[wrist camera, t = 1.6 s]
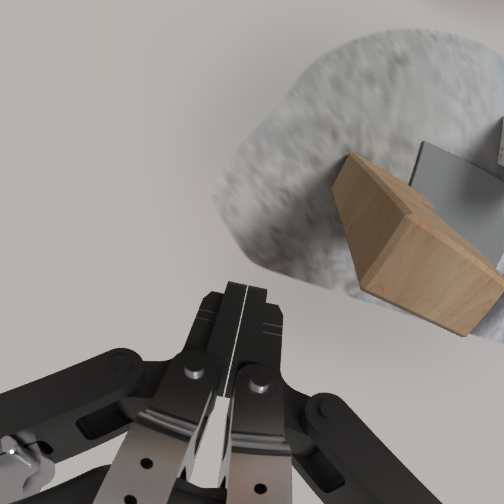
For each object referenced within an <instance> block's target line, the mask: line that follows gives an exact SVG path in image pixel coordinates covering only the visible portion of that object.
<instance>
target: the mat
mask: <svg viewBox="0 0 504 504" xmlns="http://www.w3.org/2000/svg"><path fill="white" fill-rule="evenodd" d="M410 187H411V188H413V189H414V190H416V191H417V192H419V193H420V194H422V195H423V196H424V197H425V198H426V199H427V200H429V201H430V202H431V203H432V204H433V205H434V206H435V210H434V212H433V213H434V214H436V215H437V216H438V217H439V218H440V219H442V220H443V221H444V222H445V223H446V224H448V225H449V226H450V227H451V228H452V229H454V230H455V231H456V232H457V233H458V234H460V235H461V236H462V237H463V238H464V239H465V240H467V241H468V242H469V243H470V244H472V245H473V246H474V247H475V248H476V249H478V250H479V251H480V252H481V253H482V254H483V255H484V256H485V257H486V258H487V259H488V260H489V262H490V263H491V264H492V265H493V266H494V267H495V268H496V267H497V265H498V263H499V261H500V259H501V257H502V255H503V253H504V182H503V181H502V180H500V179H498V178H496V177H495V176H493V175H491V174H490V173H488V172H486V171H484V170H482V169H481V168H479V167H477V166H475V165H473V164H471V163H469V162H467V161H465V160H463V159H461V158H459V157H457V156H455V155H453V154H451V153H449V152H447V151H445V150H443V149H441V148H438V147H436V146H434V145H432V144H429V143H427V142H425V141H423V144H422V148H421V151H420V155H419V158H418V162H417V165H416V168H415V171H414V174H413V178H412V181H411V184H410Z"/></svg>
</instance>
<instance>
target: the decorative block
mask: <svg viewBox="0 0 504 504" xmlns="http://www.w3.org/2000/svg"><path fill="white" fill-rule="evenodd" d="M331 191H332V194H333V197H334V200H335V203H336V206H337V210H338V213H339V216H340V219H341V222H342V225H343V228H344V232H345V235H346V238H347V242H348V245H349V249H350V252H351V256H352V259H353V263H354V266H355V270H356V274H357V278H358V281H359V285H360V289H361V290H362V291H364V292H366V293H368V294H370V295H373V296H375V297H377V298H379V299H381V300H383V301H386V302H388V303H390V304H392V305H394V306H396V307H398V308H401V309H403V310H405V311H407V312H409V313H411V314H413V315H416V316H418V317H420V318H422V319H424V320H426V321H428V322H431V323H433V324H435V325H437V326H439V327H441V328H444V329H446V330H448V331H450V332H452V333H454V334H456V335H459V336H461V337H466V336H467V335H468V334H469V333H470V332H471V331H472V330H473V328H474V327H475V326H476V325H477V324H478V323H479V322H480V321H481V319H482V318H483V317H484V316H485V315H486V314H487V312H488V311H489V310H490V309H491V307H492V306H493V305H494V304H495V303H496V301H497V300H498V299H499V297H500V296H501V295H502V294H503V292H504V278H503V277H502V276H501V274H500V273H499V272H498V271H497V270H496V268H495V267H494V266H493V265H492V264H491V263H490V262H489V260H488V259H487V258H486V257H485V256H484V255H483V254H482V253H481V252H480V251H479V250H478V249H476V248H475V247H474V246H473V245H472V244H470V243H469V242H468V241H467V240H465V239H464V238H463V237H462V236H461V235H460V234H458V233H457V232H456V231H455V230H454V229H452V228H451V227H450V226H449V225H448V224H446V223H445V222H444V221H443V220H442V219H440V218H439V217H438V216H437V215H436V214H434V213H433V212H434V210H435V206H434V205H433V204H432V203H431V202H430V201H429V200H427V199H426V198H425V197H424V196H423V195H422V194H420V193H419V192H417V191H416V190H414V189H413V188H411V187H410V186H408V185H407V184H405V183H404V182H402V181H401V180H399V179H397V178H396V177H394V176H393V175H391V174H389V173H388V172H386V171H384V170H383V169H381V168H379V167H378V166H376V165H374V164H373V163H371V162H369V161H367V160H366V159H364V158H362V157H360V156H359V155H357V154H355V153H350V154H349V155H348V157H347V159H346V161H345V163H344V165H343V167H342V169H341V170H340V172H339V174H338V176H337V178H336V180H335V182H334V184H333V186H332V187H331Z"/></svg>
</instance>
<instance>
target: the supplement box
mask: <svg viewBox="0 0 504 504" xmlns="http://www.w3.org/2000/svg"><path fill="white" fill-rule="evenodd" d="M498 164H499V165H501V166H503V167H504V117H503V125H502V134H501V142H500V149H499V156H498Z"/></svg>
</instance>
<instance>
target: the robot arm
mask: <svg viewBox="0 0 504 504" xmlns="http://www.w3.org/2000/svg"><path fill="white" fill-rule="evenodd" d="M246 288H247V285H244V284H239V283H234V282H230V281H229V282H228V284H227V287H226V290H225V293H224V294H223V293H218V292H213V291H212V292H210V293H209V294H208V295H207V296H206V297H205V298H203V300H202V303H201V305H200V308H199V310H198V313H197V315H196V318H195V320H194V323H193V326H192V328H191V331H190V333H189V336H188V338H187V341H186V343H185V346H184V348H183V350H182V351H181V352H180V353H178V354H177V355H176V356H175V357H174V358H172V359H170V360H166V361H143V360H142V358H141V357H140V356H139V354H137V353H136V352H134V351H133V350H130V349H127V348H116V349H112V350H110V351H107V352H105V353H103V354H100V355H98V356H96V357H93V358H91V359H88V360H86V361H83V362H81V363H78V364H76V365H74V366H71V367H69V368H66V369H64V370H61V371H59V372H56V373H54V374H51V375H48V376H46V377H44V378H41V379H38V380H36V381H33V382H30V383H28V384H25V385H23V386H20V387H17V388H15V389H12V390H9V391H7V392H4V393H1V394H0V504H292V465H293V467H294V468H295V469H296V470H297V472H298V473H299V474H300V475H301V477H302V478H303V479H304V480H305V481H306V483H307V484H308V485H309V486H310V487H311V489H312V490H313V491H314V492H315V494H316V495H317V496H318V497H319V498H320V499H321V501H322V502H323V503H324V504H442V503H441V502H440V501H439V500H438V499H437V498H436V497H435V496H434V495H433V494H432V493H431V492H430V491H429V490H428V489H427V488H426V487H425V486H424V485H423V484H422V483H421V482H420V481H419V480H418V479H417V478H416V477H415V476H414V475H413V474H412V473H411V472H410V471H409V470H408V469H407V468H406V467H405V466H404V465H403V464H402V463H401V461H400V460H399V459H398V458H397V457H396V456H395V455H394V454H393V453H392V452H391V451H390V450H389V449H388V448H387V447H386V446H385V445H384V444H383V443H382V442H381V441H380V439H379V438H377V436H376V435H375V434H374V433H373V432H372V431H371V430H370V429H369V428H368V427H367V426H366V425H365V423H364V422H363V421H362V420H361V419H360V418H359V417H358V416H357V415H356V414H355V413H354V412H353V410H352V409H351V408H350V407H349V406H348V405H347V404H346V403H345V402H344V401H343V400H342V399H341V398H339V397H338V396H336V395H334V394H331V393H318V394H316V395H313V396H312V397H310V396H307V395H305V394H302V393H300V392H298V391H296V390H294V389H293V388H291V387H290V386H289V385H287V383H285V381H284V379H283V378H282V376H281V372H280V362H281V346H282V326H283V314H282V312H281V310H280V308H279V306H278V305H275V304H269V303H266V297H267V289H263V288H259V287H253V286H249V287H248V291H247V296H246V300H245V305H244V310H243V315H242V319H241V324H240V329H239V333H238V338H237V342H236V347H235V351H234V356H233V361H232V366H231V370H230V374H229V379H228V384H227V388H226V393H225V397H227V398H230V402H229V408H228V412H227V416H226V424H225V431H224V441H223V449H222V450H223V451H222V458H221V466H220V472H219V478H218V486H217V488H200V487H198V486H196V485H193V484H191V483H189V480H190V477H191V474H192V471H193V467H194V463H195V459H196V456H197V453H198V450H199V447H200V444H201V442H202V439H203V436H204V433H205V430H206V427H207V424H208V421H209V418H210V415H211V412H212V411H213V409H214V405H215V401H216V397H217V396H222V397H223V393H224V388H225V384H226V379H227V375H228V371H229V366H230V362H231V357H232V352H233V348H234V344H235V339H236V334H237V330H238V325H239V321H240V316H241V312H242V307H243V302H244V297H245V293H246ZM127 431H128V432H127ZM125 432H127V434H126V436H125V439H124V440H123V442H122V445H121V446H120V448H119V450H118V452H117V454H116V457H115V458H114V460H113V462H112V464H110V465H104V466H100V467H97V468H94V469H92V470H90V471H88V472H86V473H83V474H81V475H79V476H77V477H75V478H73V479H70V480H68V481H66V482H64V483H61V484H59V485H57V486H55V487H52V488H50V489H47V490H45V491H42V492H40V490H41V488H42V487H43V486H44V485H46V484H48V483H49V482H50V481H51V480H52V479H53V477H54V474H55V465H54V464H55V463H58V462H60V461H63V460H65V459H68V458H70V457H73V456H75V455H78V454H80V453H82V452H84V451H87V450H89V449H91V448H93V447H96V446H98V445H100V444H102V443H104V442H107V441H109V440H110V439H113V438H115V437H117V436H119V435H121V434H123V433H125ZM39 492H40V493H39Z"/></svg>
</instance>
